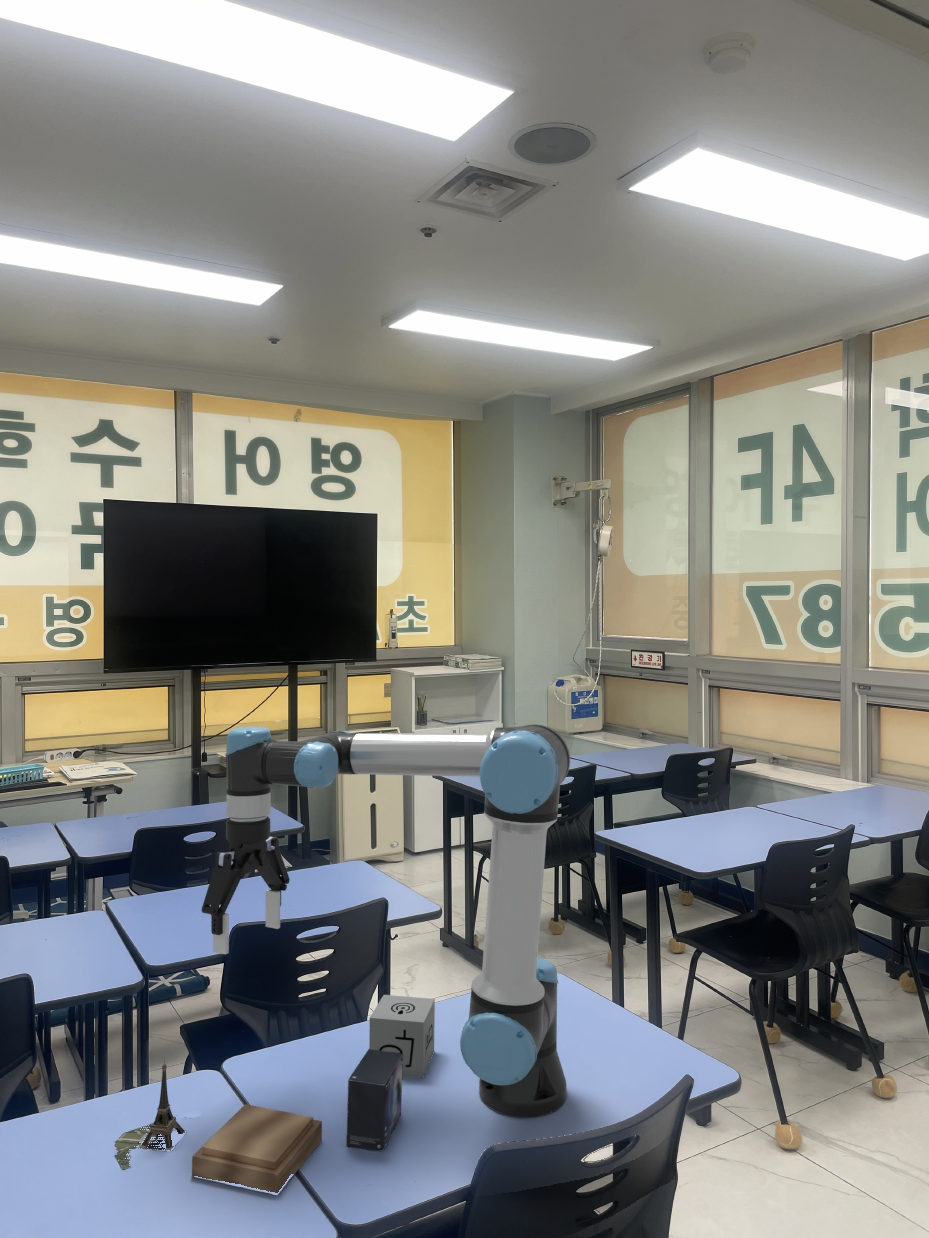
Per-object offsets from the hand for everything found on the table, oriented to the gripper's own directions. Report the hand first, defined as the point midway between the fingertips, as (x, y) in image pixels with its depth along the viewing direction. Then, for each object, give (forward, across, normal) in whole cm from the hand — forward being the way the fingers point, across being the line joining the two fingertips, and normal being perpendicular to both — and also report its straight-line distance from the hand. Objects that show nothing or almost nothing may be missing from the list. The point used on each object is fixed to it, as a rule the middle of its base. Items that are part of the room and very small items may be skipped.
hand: (247, 939), depth 151 cm
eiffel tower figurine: (+27, +17, -3) cm, 32 cm away
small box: (+27, 0, +26) cm, 37 cm away
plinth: (+26, +14, +14) cm, 33 cm away
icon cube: (+27, -21, +19) cm, 39 cm away
